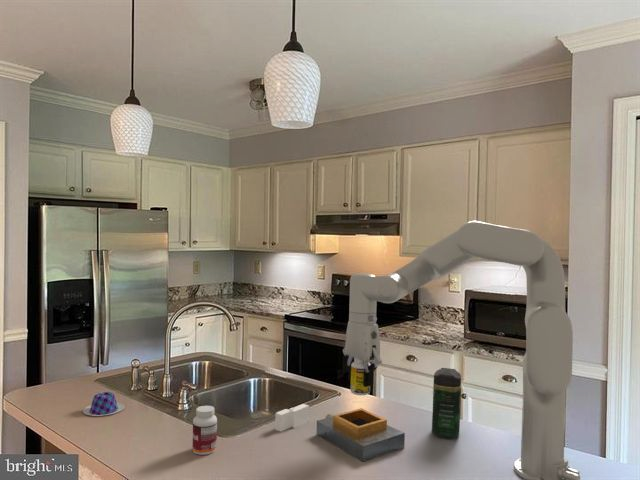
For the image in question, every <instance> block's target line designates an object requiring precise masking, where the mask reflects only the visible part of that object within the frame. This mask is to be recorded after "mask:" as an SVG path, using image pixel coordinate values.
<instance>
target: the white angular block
mask: <svg viewBox="0 0 640 480" xmlns="http://www.w3.org/2000/svg"><path fill="white" fill-rule="evenodd" d="M274 417H275V418H274V419H275V423H274V430H275V431H278V432H280V433H281V432H284V431H285V430H286V431H287V430H288V429H290V428H294V429H295V428H297V427H299V426H302V425H305V424H306V423H309V421H310V405H308V404H305V403H302V404H299V405H297V406H294V407H291V408H289V409H288V408H284V409H282V410H278V411H277V412H275V416H274Z"/></svg>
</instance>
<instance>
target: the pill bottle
mask: <svg viewBox="0 0 640 480" xmlns="http://www.w3.org/2000/svg"><path fill="white" fill-rule="evenodd" d="M195 414H196V416H194V418H193V420H192V445H191V446H192V452H193V453H194V454H196V455H200V456H205V455H210V454H213V453H214V452H216V450H217V446H218V444H217V440H218V439H217V438H218V418H217V415H215V407H214V406H212V405H201V406H198V407H197V408H196V409H195Z"/></svg>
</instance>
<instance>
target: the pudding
mask: <svg viewBox="0 0 640 480" xmlns="http://www.w3.org/2000/svg"><path fill="white" fill-rule="evenodd" d="M124 408H125V405H124V404H123V403H120V402H117V400H116V395H115V394H114V393H113V392H110V391H105V392H99V393H97V394H94V396H93V398H92V402H91V404H90V405H87V406H86V407H85V408H83V409H82V413H83V414H84V415H87V416H92V417H93V416H94V417H95V416H96V417H99V416H100V417H102V416H104V415H105V416H110V415H114V414H116V413H120V412H121V411H122V410H124Z"/></svg>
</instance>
